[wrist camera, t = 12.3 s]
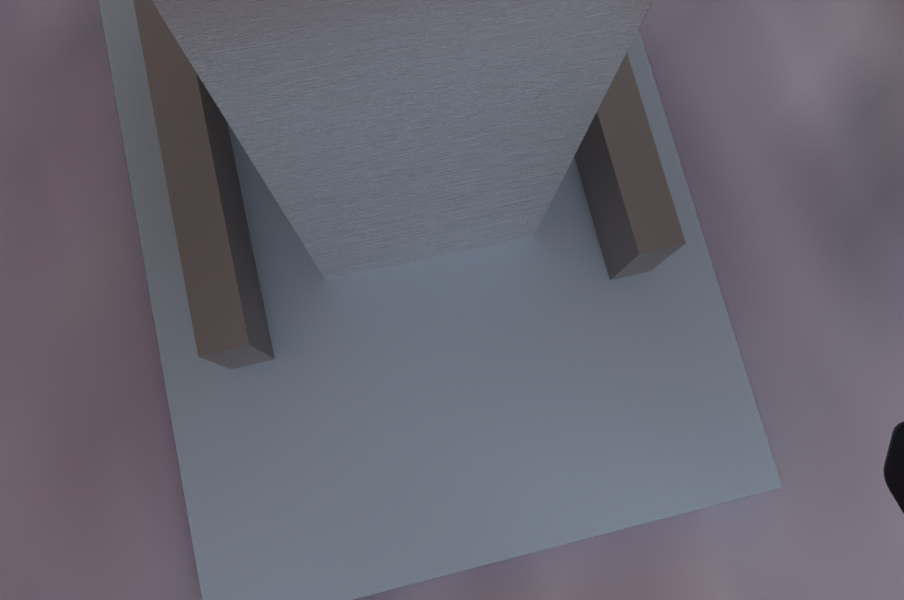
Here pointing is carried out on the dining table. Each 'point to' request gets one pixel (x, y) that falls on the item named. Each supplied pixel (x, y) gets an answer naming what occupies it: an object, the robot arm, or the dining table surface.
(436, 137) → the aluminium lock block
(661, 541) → the dining table surface
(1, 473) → the dining table surface
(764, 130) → the dining table surface
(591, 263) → the coupler cradle
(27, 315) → the dining table surface
